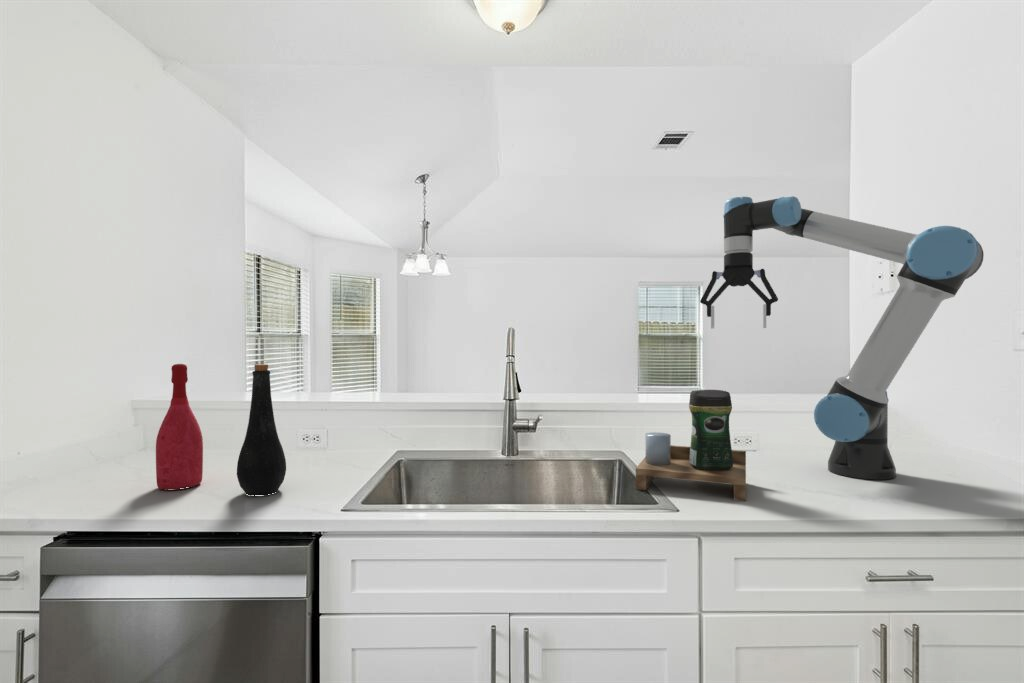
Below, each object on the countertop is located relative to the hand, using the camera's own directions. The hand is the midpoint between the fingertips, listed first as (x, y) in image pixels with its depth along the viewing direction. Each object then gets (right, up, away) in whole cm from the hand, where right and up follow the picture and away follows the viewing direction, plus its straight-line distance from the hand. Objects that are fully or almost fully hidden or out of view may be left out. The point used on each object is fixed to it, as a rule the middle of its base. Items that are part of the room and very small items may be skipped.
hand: (738, 328), depth 153 cm
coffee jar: (-17, -34, -24) cm, 45 cm away
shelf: (-21, -39, -22) cm, 49 cm away
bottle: (-123, -39, -27) cm, 132 cm away
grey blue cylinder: (-28, -34, -19) cm, 48 cm away
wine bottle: (-146, -39, -21) cm, 152 cm away
